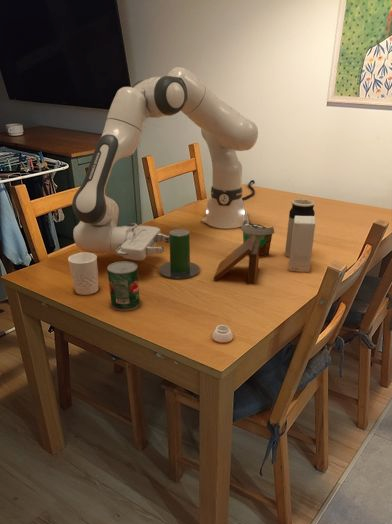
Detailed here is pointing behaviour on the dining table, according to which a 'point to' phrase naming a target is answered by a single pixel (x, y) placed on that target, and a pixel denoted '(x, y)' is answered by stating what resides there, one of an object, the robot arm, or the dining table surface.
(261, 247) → the food container
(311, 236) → the cosmetic box
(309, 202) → the travel mug
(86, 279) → the white cup
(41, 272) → the dining table surface
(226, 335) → the white jar
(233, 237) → the dining table surface
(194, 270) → the disc
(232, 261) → the stand
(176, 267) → the can
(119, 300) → the canned tomato
